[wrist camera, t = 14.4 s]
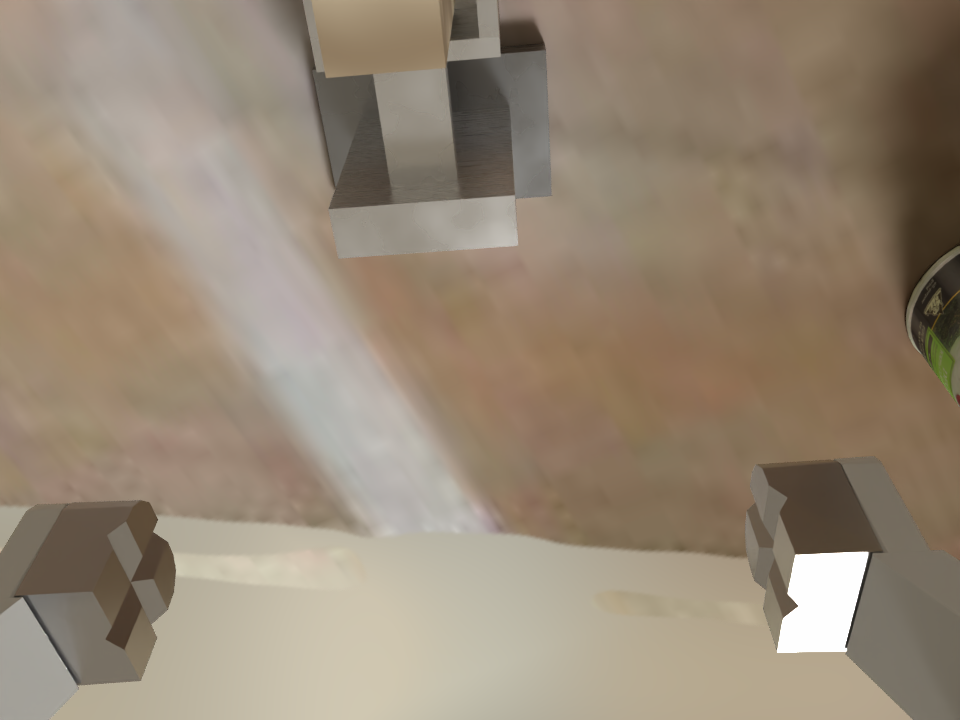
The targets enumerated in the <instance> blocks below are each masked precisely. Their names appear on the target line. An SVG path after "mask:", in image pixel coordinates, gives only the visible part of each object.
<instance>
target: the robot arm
mask: <svg viewBox="0 0 960 720" xmlns="http://www.w3.org/2000/svg"><path fill="white" fill-rule="evenodd" d="M750 487H751V490H752V493H753V496H754V499H755V503H754V504H753V505H752V506H751V507H750V508H749V509H748V510H747V514H746V524H745V537H746V551H747V555H748V560H749V565H750V568H751V571H752V575H753V578H754V581H755V582H757V583H758V584H759V585H760V586H762V587H763V588H764V589H765V590H766V594H765V600H764V607H763V610H764V613H765V616H766V619H767V622H768V625H769V628H770V631H771V634H772V637H773V640H774V643H775V646H776V649H777V652H809V651H810V652H813V651H846V655H847V656H848V657H849V658H850V659H851V660H852V661H853V662H854V663H855V664H856V665H857V666H858V667H859V668H860V669H861V670H862V671H863V672H865V674H867V675H868V676H869V677H870V678H871V679H872V680H873V681H874V682H875V683H876V684H877V685H878V686H879V687H880V688H881V689H882V690H883V691H884V692H885V693H886V694H887V695H888V696H889V697H890V698H891V699H892V700H893V701H894V702H895V703H896V704H898V705H899V706H900V708H902V709H903V710H904V711H905V712H906V713H907V714H908V715H909V716H910V717H911V718H912V719H913V720H960V561H959V560H958V559H956V558H955V557H953V556H951V555H950V554H948V553H947V552H945V551H944V550H930V548H929V546H928V545H927V543H926V541H925V539H924V537H923V536H922V534H921V532H920V530H919V529H918V527H917V525H916V523H915V521H914V520H913V518H912V516H911V514H910V513H909V511H908V509H907V507H906V505H905V504H904V502H903V500H902V498H901V497H900V495H899V493H898V491H897V489H896V488H895V486H894V484H893V482H892V481H891V479H890V477H889V475H888V473H887V472H886V470H885V468H884V466H883V465H882V463H881V461H880V460H878V459H877V458H876V457H874V456H869V457H855V458H841V459H834V460H815V461H800V462H785V463H770V464H756V465H755V467H754V470H753V472H752V477H751V484H750ZM157 521H158V519H157V517H156V515H155V513H154V511H153V509H152V507H151V505H150V503H149V502H145V501H141V500H134V501H104V502H74V503H70V504H37V505H35V506H34V507H32V508H31V509H29V510H28V511H26V513H25V514H24V516H23V517H22V519H21V521H20V522H19V524H18V526H17V527H16V529H15V530H14V532H13V534H12V535H11V537H10V538H9V540H8V542H7V544H6V545H5V547H4V548H3V550H2V551H1V553H0V720H50V719H51V717H52V716H54V714H55V713H56V712H57V711H58V710H59V709H60V708H61V707H62V706H63V705H64V704H65V703H66V702H67V701H68V700H69V699H70V698H71V697H72V696H73V695H74V693H75V692H76V691H77V690H78V689H79V687H78V686H77V685H90V684H104V683H116V682H131V681H141V679H142V676H143V674H144V671H145V669H146V666H147V663H148V661H149V658H150V655H151V653H152V650H153V648H154V645H155V642H156V640H157V636H156V634H155V632H154V629H153V628H152V625H151V624H152V623H153V622H155V621H156V620H157V619H158V618H159V617H160V616H161V615H162V614H164V613H165V612H166V611H167V610H168V607H169V604H170V602H171V598H172V596H173V593H174V586H175V575H176V568H175V563H174V557H173V553H172V551H171V548H170V546H169V544H168V542H167V541H165V540H164V539H162V538H161V537H159V536H158V535H157V534H155V533H153V530H154V528H155V526H156V523H157Z"/></svg>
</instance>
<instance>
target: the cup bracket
mask: <svg viewBox="0 0 960 720" xmlns="http://www.w3.org/2000/svg"><path fill="white" fill-rule="evenodd" d="M303 5H304V10H305V15H306V20H307V25H308V31H309V36H310V41H311V46H312V51H313V56H314V61H315V66H314V68H313V69H312V72H313V77H314V82H315V87H316V92H317V97H318V102H319V107H320V112H321V117H322V122H323V127H324V132H325V137H326V142H327V147H328V152H329V157H330V162H331V167H332V172H333V177H334V182H335V187H336V189H335V192H334V195H333V197H332V200H331V203H330V206H329V209H328V210H329V215H330V220H331V225H332V229H333V234H334V239H335V244H336V249H337V253H338V258H352V257H366V256H380V255H394V254H408V253H422V252H436V251H450V250H464V249H478V248H492V247H506V246H518V235H517V217H516V199H517V198H531V197H544V196H552V194H551V168H550V143H549V118H548V93H547V68H546V49H545V44H533V45H521V46H510V47H500V20H499V5H498V0H455V7H454V14H453V21H452V28H451V35H450V43H449V50H448V57H447V64H446V68H441V69H429V70H416V71H404V72H392V73H380V74H368V75H356V76H344V77H332V78H326V75H325V70H324V65H323V60H322V54H321V49H320V44H319V38H318V33H317V28H316V23H315V17H314V12H313V7H312V1H311V0H303Z"/></svg>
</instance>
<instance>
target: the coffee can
mask: <svg viewBox="0 0 960 720" xmlns="http://www.w3.org/2000/svg"><path fill="white" fill-rule="evenodd" d="M906 327H907V332H908V336H909V338H910V340H911V342H912V344H913V346H914V347H915V348H916V349H917V350H918V351H919V352H920V353H921V354H922V355H923V357H924V358H925V360H926V361H927V362H928V364H929V365H930V367H931V368H932V370H933V371H934V372H935V374H936V375H937V376H938V378H939V379H940V380H941V382H942V383H943V385H944V386H945V387H946V389H947V390H948V392H949V393H950V394H951V396H952V397H953V399H954V400H955V401H956V403H957V404H958V406H959V407H960V245H959V246H957V247H956V248H954V249H952V250H951V251H949V252H948V253H947V254H945V255H944V256H943V257H941V258H940V259H939V260H938V261H937V262H936V263H935V264H934V265H933V266H932V267H931V268H930V269H929V270H928V271H927V272H926V273H925V274H924V276H923V277H922V278H921V280H920V281H919V282H918V284H917V285H916V287H915V289H914V291H913V293H912V295H911V298H910V301H909V304H908V307H907V313H906Z"/></svg>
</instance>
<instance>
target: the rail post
mask: <svg viewBox="0 0 960 720" xmlns="http://www.w3.org/2000/svg"><path fill="white" fill-rule="evenodd" d="M311 1H312V7H313V12H314V17H315V23H316V28H317V33H318V38H319V44H320V49H321V54H322V60H323V65H324V70H325V75H326V78H332V77H344V76H356V75H368V74H380V73H392V72H404V71H416V70H429V69H441V68H446V64H447V57H448V50H449V43H450V35H451V28H452V21H453V14H454V7H455V0H311Z"/></svg>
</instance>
